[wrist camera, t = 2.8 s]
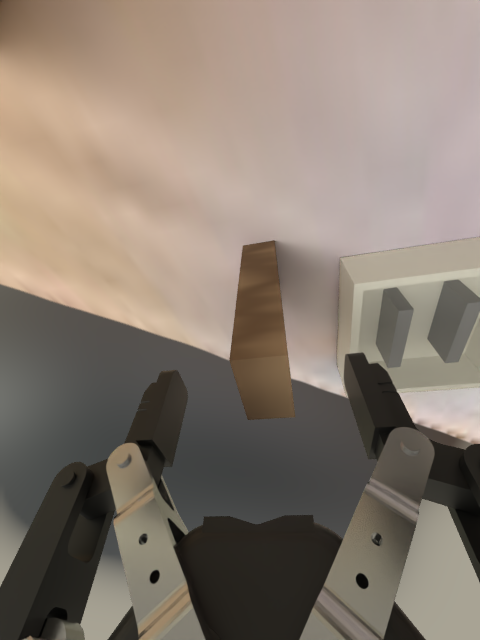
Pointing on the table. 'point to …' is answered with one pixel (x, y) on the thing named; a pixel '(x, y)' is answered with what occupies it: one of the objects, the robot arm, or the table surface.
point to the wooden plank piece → (261, 337)
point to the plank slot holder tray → (414, 314)
